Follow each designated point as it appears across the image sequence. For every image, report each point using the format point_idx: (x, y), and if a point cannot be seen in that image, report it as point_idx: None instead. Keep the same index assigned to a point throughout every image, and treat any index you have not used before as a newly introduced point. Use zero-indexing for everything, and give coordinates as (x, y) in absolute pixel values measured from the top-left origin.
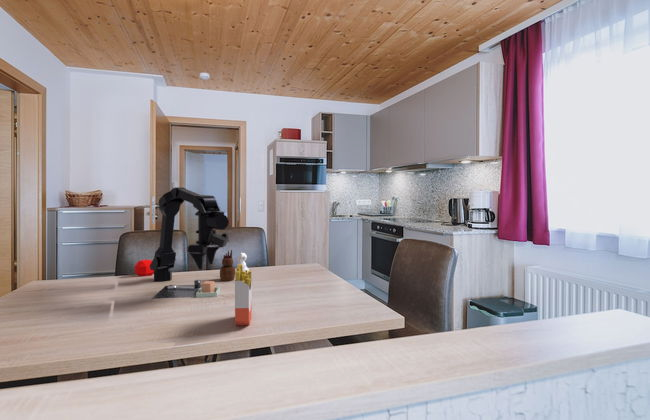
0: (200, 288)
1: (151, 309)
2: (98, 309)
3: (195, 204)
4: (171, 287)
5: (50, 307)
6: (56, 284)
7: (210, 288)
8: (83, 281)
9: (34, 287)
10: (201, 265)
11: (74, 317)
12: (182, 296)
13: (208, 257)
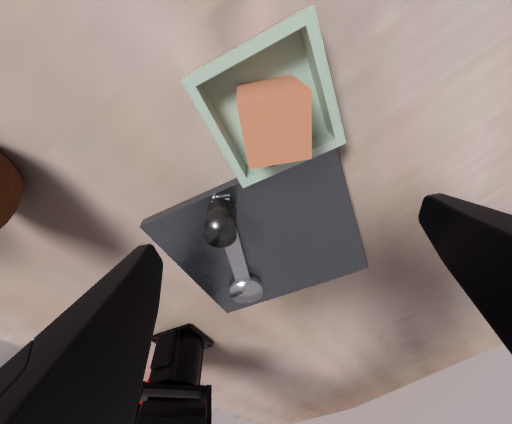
0: (255, 177)
1: None
2: (428, 309)
3: None
4: (260, 286)
5: (405, 361)
6: (279, 414)
7: (302, 82)
8: (250, 408)
9: (301, 416)
10: (506, 218)
11: None
12: (334, 199)
13: (142, 351)
